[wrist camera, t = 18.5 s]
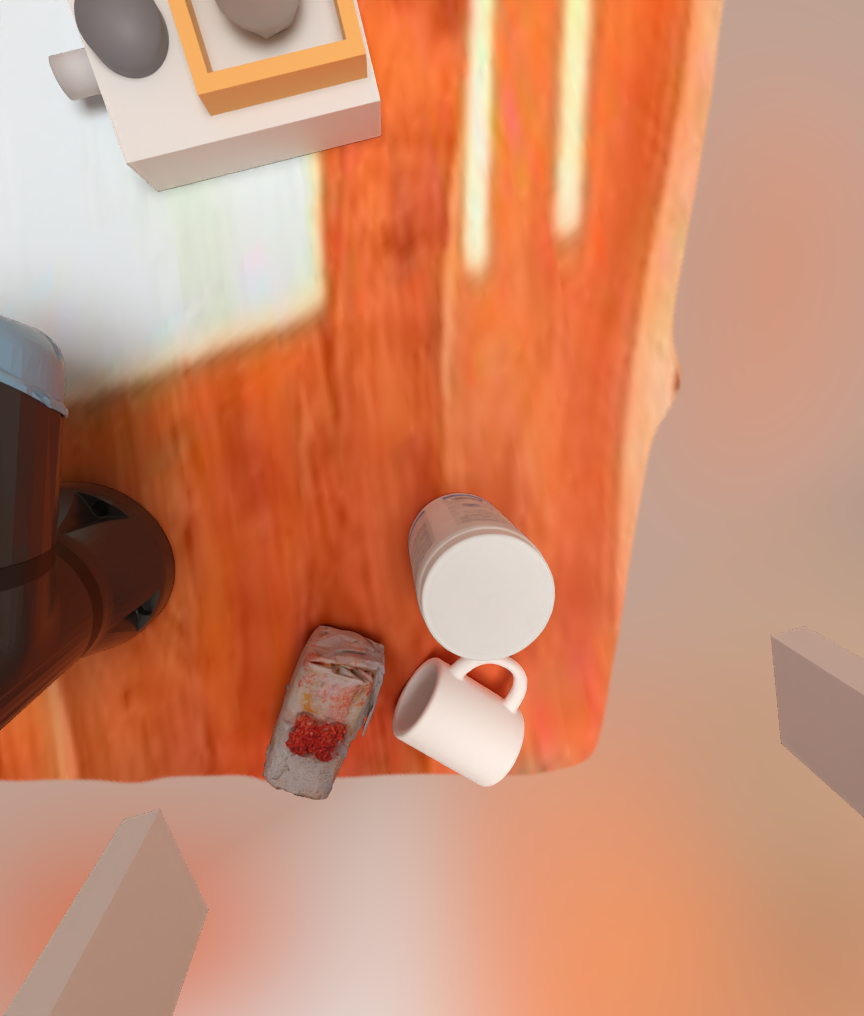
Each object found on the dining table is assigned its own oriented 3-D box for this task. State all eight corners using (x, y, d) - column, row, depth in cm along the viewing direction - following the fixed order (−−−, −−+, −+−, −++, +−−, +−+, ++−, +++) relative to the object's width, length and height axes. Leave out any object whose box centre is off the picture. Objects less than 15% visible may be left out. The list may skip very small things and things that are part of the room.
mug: (467, 746, 53) (481, 806, 46) (390, 701, 51) (391, 756, 44) (537, 661, 52) (563, 708, 44) (460, 611, 50) (474, 652, 42)
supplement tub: (448, 604, 49) (473, 691, 35) (386, 533, 47) (387, 595, 33) (526, 544, 49) (584, 608, 34) (467, 468, 46) (504, 503, 32)
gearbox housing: (120, 201, 39) (60, 157, 32) (42, -13, 36) (-46, -116, 28) (381, 135, 40) (380, 78, 32) (328, -81, 36) (314, -199, 29)
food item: (312, 610, 48) (293, 664, 39) (390, 632, 50) (391, 690, 40) (271, 728, 51) (245, 807, 41) (347, 747, 52) (338, 827, 43)
